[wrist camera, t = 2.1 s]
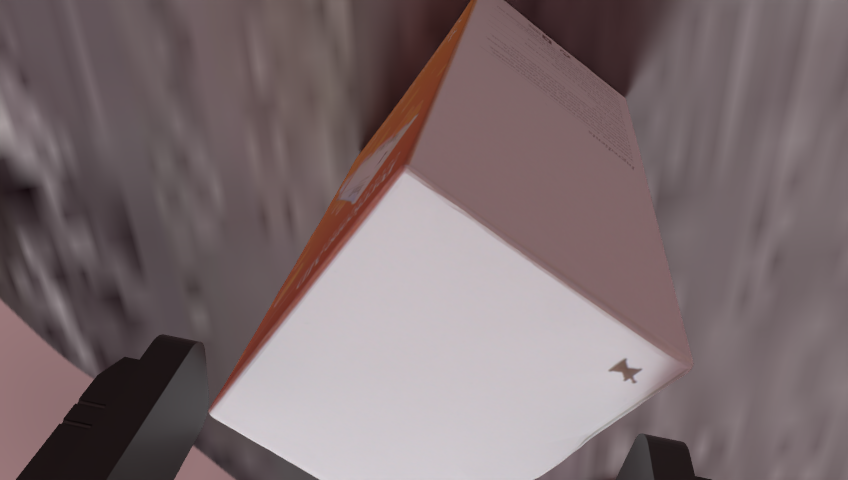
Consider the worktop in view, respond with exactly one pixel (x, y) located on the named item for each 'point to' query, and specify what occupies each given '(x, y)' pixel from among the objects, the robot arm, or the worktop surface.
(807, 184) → the worktop surface
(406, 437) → the small box
